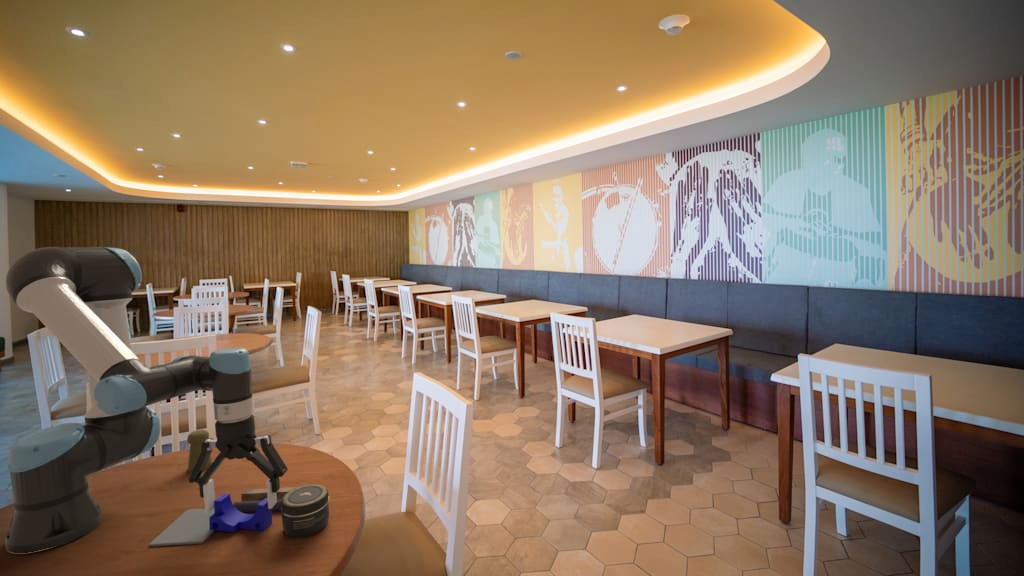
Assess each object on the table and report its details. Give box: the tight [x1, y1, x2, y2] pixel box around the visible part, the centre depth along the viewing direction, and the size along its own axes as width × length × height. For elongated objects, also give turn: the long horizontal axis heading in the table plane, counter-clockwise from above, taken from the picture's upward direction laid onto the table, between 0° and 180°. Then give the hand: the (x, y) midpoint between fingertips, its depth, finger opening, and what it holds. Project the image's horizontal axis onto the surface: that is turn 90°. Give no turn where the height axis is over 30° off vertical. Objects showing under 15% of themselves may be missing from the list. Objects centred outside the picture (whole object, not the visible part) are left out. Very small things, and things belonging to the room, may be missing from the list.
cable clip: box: [209, 493, 273, 533], centre depth 101 cm, size 12×4×6 cm, turn 84°
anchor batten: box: [240, 486, 298, 502], centre depth 113 cm, size 14×2×2 cm, turn 95°
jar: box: [280, 483, 330, 539], centre depth 102 cm, size 10×10×8 cm
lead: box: [232, 500, 282, 513], centre depth 109 cm, size 14×2×2 cm
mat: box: [148, 507, 216, 547], centre depth 102 cm, size 11×13×1 cm
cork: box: [187, 429, 213, 474], centre depth 130 cm, size 6×6×11 cm
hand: (241, 507), depth 101 cm, fingers open, 13 cm apart
